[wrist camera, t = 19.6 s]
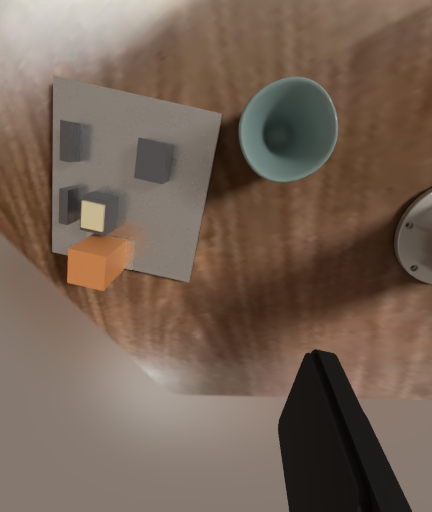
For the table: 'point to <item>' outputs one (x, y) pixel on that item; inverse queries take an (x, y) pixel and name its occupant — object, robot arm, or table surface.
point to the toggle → (153, 160)
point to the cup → (288, 129)
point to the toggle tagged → (98, 213)
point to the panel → (132, 172)
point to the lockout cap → (96, 261)
